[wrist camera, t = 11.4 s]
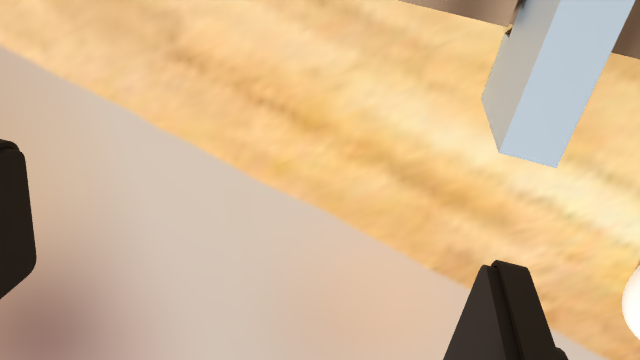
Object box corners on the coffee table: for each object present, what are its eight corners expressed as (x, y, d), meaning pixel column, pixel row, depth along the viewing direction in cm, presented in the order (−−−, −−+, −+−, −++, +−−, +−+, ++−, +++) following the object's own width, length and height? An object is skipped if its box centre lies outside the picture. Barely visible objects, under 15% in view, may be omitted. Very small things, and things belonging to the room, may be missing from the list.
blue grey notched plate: (481, 98, 35) (498, 152, 26) (562, -124, 29) (627, -165, 19) (522, 109, 35) (556, 168, 25) (613, -113, 29) (705, -149, 19)
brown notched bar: (402, -5, 34) (398, 0, 30) (415, -52, 32) (412, -54, 28) (670, 60, 32) (704, 75, 28) (695, 13, 31) (735, 21, 27)
